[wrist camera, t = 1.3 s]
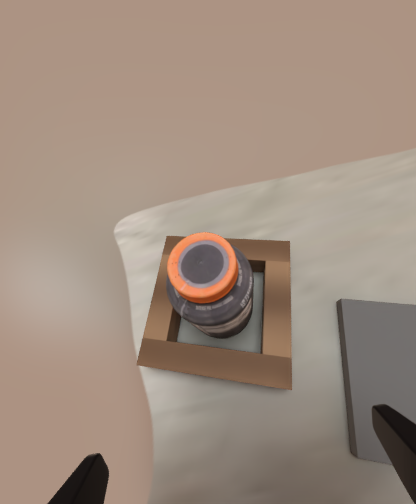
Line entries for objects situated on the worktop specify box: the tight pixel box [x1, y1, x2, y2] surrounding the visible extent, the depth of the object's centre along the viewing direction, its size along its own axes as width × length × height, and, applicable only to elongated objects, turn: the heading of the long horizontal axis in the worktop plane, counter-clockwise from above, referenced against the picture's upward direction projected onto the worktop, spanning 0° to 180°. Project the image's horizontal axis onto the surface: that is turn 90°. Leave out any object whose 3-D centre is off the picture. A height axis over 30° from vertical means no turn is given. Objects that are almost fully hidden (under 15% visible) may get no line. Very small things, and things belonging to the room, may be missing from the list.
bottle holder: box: [137, 236, 292, 390], centre depth 22 cm, size 12×12×3 cm
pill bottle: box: [166, 232, 254, 338], centre depth 18 cm, size 6×6×11 cm
